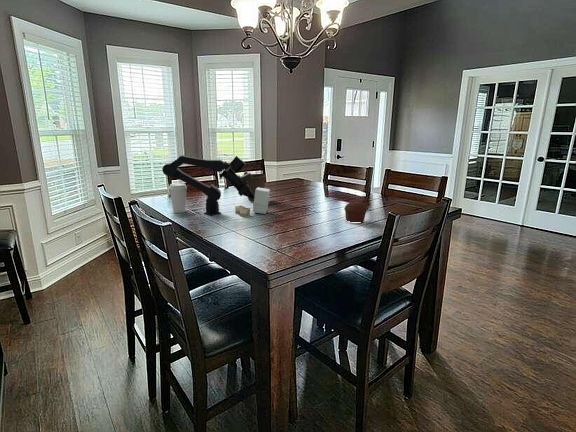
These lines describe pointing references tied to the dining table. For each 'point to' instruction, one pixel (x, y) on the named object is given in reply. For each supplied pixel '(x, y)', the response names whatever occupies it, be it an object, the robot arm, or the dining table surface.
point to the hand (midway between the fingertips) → (254, 198)
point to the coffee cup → (178, 197)
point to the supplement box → (261, 200)
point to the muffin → (355, 211)
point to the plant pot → (256, 183)
